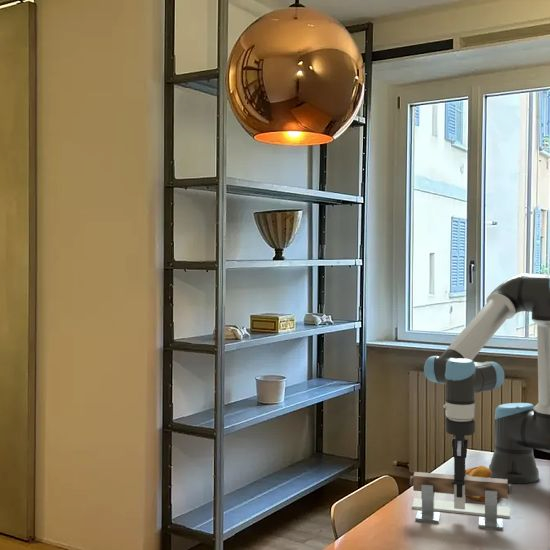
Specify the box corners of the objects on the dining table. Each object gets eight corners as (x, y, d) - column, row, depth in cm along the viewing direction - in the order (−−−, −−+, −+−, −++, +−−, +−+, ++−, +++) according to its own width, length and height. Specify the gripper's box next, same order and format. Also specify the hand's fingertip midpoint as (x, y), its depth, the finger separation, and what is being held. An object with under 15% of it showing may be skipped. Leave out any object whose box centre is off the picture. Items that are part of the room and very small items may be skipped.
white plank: (509, 509, 201) (509, 507, 201) (510, 518, 194) (510, 516, 194) (414, 500, 209) (414, 497, 209) (411, 508, 202) (411, 506, 202)
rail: (511, 494, 190) (511, 479, 190) (511, 499, 186) (511, 483, 186) (410, 486, 197) (410, 471, 197) (409, 490, 194) (409, 475, 194)
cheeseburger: (504, 503, 205) (496, 469, 205) (466, 510, 208) (458, 476, 208) (500, 491, 215) (492, 458, 215) (464, 497, 217) (456, 465, 217)
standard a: (440, 515, 197) (440, 478, 196) (438, 523, 190) (438, 486, 190) (417, 512, 198) (418, 476, 198) (415, 521, 192) (415, 484, 192)
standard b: (502, 521, 192) (503, 484, 192) (502, 530, 186) (503, 492, 185) (479, 519, 194) (479, 482, 193) (478, 528, 187) (478, 489, 187)
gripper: (447, 410, 200) (447, 493, 201) (443, 424, 184) (443, 515, 185) (475, 411, 198) (475, 496, 199) (474, 426, 182) (473, 518, 183)
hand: (459, 505), depth 192 cm, fingers closed on rail, 3 cm apart
